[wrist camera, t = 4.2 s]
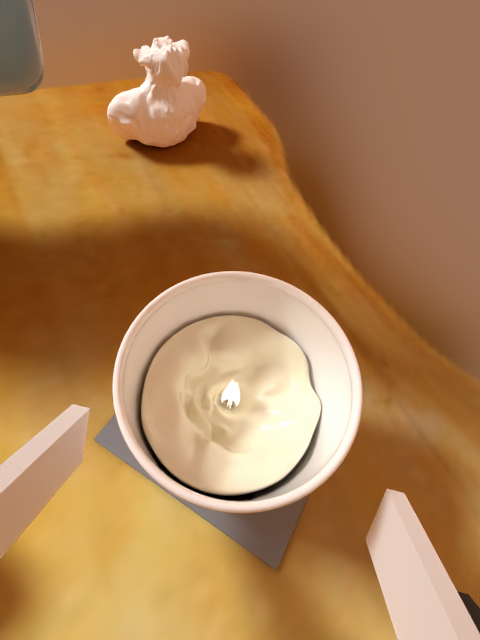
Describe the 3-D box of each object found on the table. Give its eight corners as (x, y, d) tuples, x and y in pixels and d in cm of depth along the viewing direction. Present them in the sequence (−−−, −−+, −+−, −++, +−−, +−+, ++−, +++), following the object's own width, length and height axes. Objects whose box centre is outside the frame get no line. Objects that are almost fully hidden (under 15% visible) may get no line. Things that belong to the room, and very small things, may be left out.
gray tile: (95, 440, 23) (93, 439, 22) (209, 298, 29) (210, 296, 29) (275, 570, 20) (276, 570, 20) (355, 382, 27) (357, 381, 27)
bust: (122, 171, 40) (141, 126, 30) (88, 104, 38) (96, 32, 28) (206, 142, 44) (247, 95, 34) (180, 81, 42) (215, 12, 32)
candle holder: (271, 357, 27) (317, 259, 16) (309, 492, 22) (407, 475, 12) (144, 378, 25) (107, 281, 14) (158, 530, 20) (117, 550, 10)
